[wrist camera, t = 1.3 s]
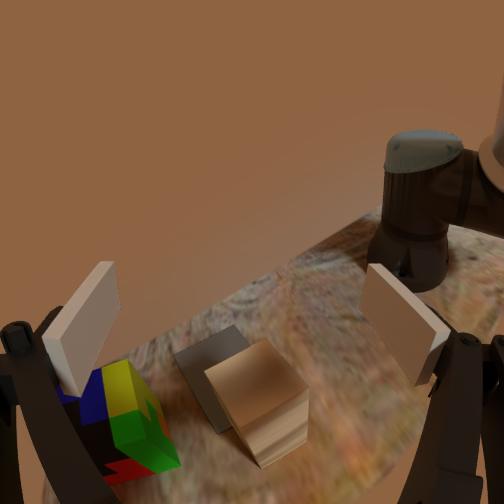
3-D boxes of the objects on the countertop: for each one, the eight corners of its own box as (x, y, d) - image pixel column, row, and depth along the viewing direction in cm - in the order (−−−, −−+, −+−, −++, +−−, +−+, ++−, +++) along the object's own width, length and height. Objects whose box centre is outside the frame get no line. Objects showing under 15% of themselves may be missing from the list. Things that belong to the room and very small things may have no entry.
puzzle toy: (95, 420, 34) (54, 382, 28) (159, 400, 37) (127, 358, 31) (109, 485, 27) (60, 459, 21) (181, 466, 29) (146, 438, 23)
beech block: (306, 441, 30) (308, 386, 22) (261, 469, 28) (239, 427, 20) (277, 405, 35) (266, 337, 26) (234, 430, 33) (204, 371, 24)
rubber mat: (289, 394, 36) (289, 392, 36) (217, 434, 32) (217, 433, 32) (234, 325, 46) (234, 324, 46) (174, 356, 42) (173, 355, 42)
